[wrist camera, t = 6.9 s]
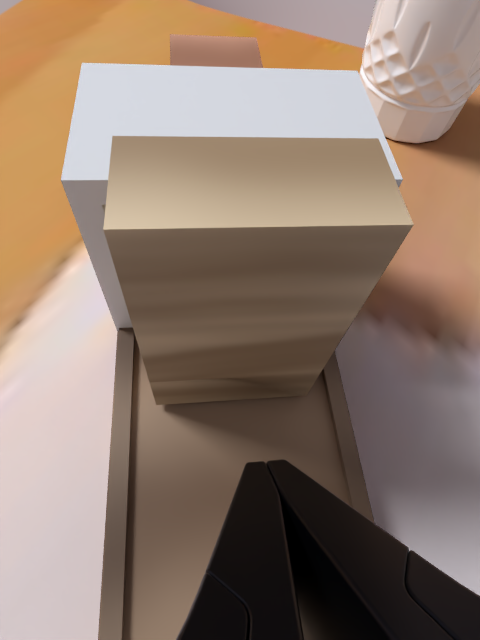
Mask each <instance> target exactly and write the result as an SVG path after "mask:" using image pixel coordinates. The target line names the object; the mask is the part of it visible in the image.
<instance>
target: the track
mask: <svg viewBox="0 0 480 640" xmlns="http://www.w3.org/2000/svg"><path fill="white" fill-rule="evenodd" d="M282 459H284V460H287V461H288V462H290V463H291V464H292V465H294V466H295V467H297V468H298V469H299V470H301V471H302V472H304V473H305V474H306V475H308V476H309V477H310V478H312V479H313V480H315V481H316V482H317V483H319V484H320V485H322V486H323V487H324V488H326V489H327V490H329V491H330V492H331V493H333V494H334V495H336V496H337V497H338V498H340V499H341V500H343V501H344V502H345V503H347V504H348V505H350V506H351V507H352V508H354V509H355V510H356V511H358V512H359V513H361V514H362V515H363V516H365V517H366V518H368V519H369V520H370V521H372V522H373V523H374V519H373V515H372V511H371V506H370V502H369V498H368V493H367V489H366V485H365V480H364V476H363V472H362V467H361V463H360V459H359V454H358V450H357V446H356V441H355V437H354V433H353V428H352V424H351V420H350V415H349V411H348V407H347V402H346V398H345V394H344V389H343V385H342V381H341V376H340V372H339V368H338V363H337V359H336V355H335V351H334V352H333V354H332V355H331V357H330V358H329V360H328V362H327V363H326V365H325V366H324V368H323V370H322V371H321V373H320V374H319V376H318V378H317V379H316V381H315V382H314V384H313V386H312V387H311V389H310V390H309V392H308V394H307V395H306V396H291V397H275V398H259V399H244V400H228V401H212V402H197V403H181V404H165V405H156V402H155V399H154V396H153V392H152V389H151V386H150V383H149V379H148V376H147V373H146V369H145V366H144V363H143V359H142V356H141V353H140V349H139V346H138V343H137V340H136V336H135V333H134V330H133V327H130V328H119V332H118V334H117V350H116V366H115V382H114V397H113V413H112V429H111V444H110V460H109V476H108V492H107V507H106V523H105V539H104V555H103V570H102V586H101V602H100V618H99V633H98V640H176V638H177V636H178V634H179V632H180V630H181V628H182V626H183V624H184V622H185V620H186V618H187V616H188V613H189V611H190V609H191V606H192V604H193V601H194V599H195V597H196V594H197V592H198V589H199V586H200V584H201V581H202V578H203V576H204V574H205V571H206V568H207V566H208V563H209V560H210V558H211V555H212V552H213V550H214V547H215V544H216V542H217V539H218V536H219V534H220V531H221V528H222V525H223V523H224V520H225V517H226V515H227V512H228V509H229V507H230V504H231V501H232V499H233V496H234V493H235V491H236V488H237V485H238V483H239V480H240V477H241V475H242V472H243V469H244V466H245V464H246V463H248V462H258V461H264V462H265V463H267V461H270V460H282Z"/></svg>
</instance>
